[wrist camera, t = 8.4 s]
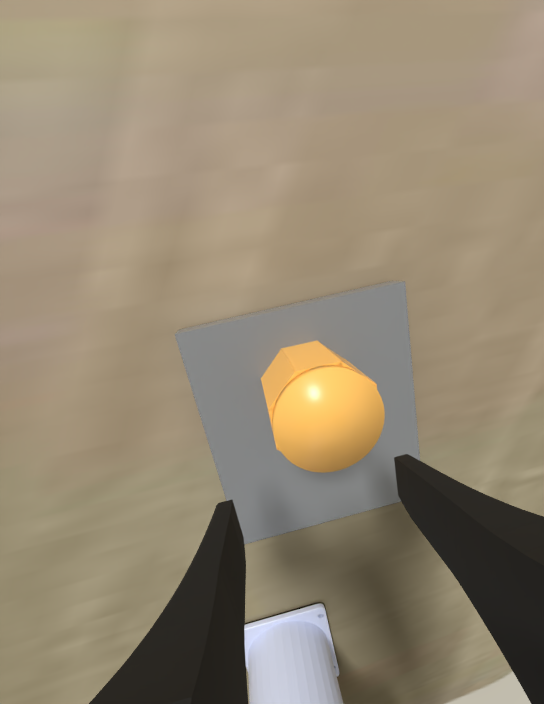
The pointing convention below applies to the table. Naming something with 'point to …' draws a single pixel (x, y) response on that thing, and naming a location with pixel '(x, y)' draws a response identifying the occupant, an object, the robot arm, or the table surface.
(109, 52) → the table surface
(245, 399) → the plate
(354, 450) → the orange acorn nut
